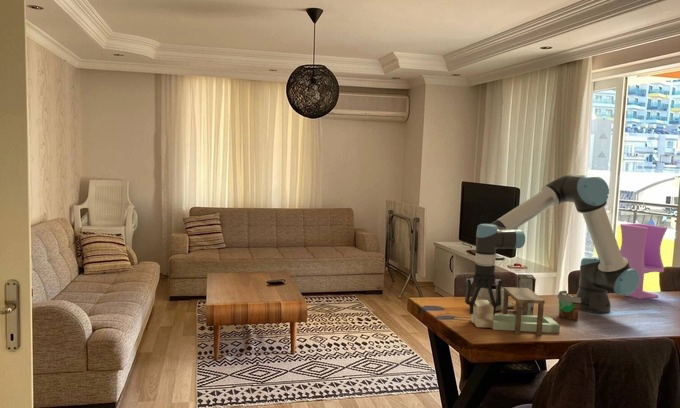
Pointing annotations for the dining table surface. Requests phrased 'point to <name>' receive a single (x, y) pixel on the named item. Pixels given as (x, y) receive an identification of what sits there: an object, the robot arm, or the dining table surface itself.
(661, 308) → the dining table surface
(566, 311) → the food container
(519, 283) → the coffee box
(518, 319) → the brown legged piece
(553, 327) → the pale green tray
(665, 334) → the dining table surface
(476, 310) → the beech block
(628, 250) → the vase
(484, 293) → the planter
